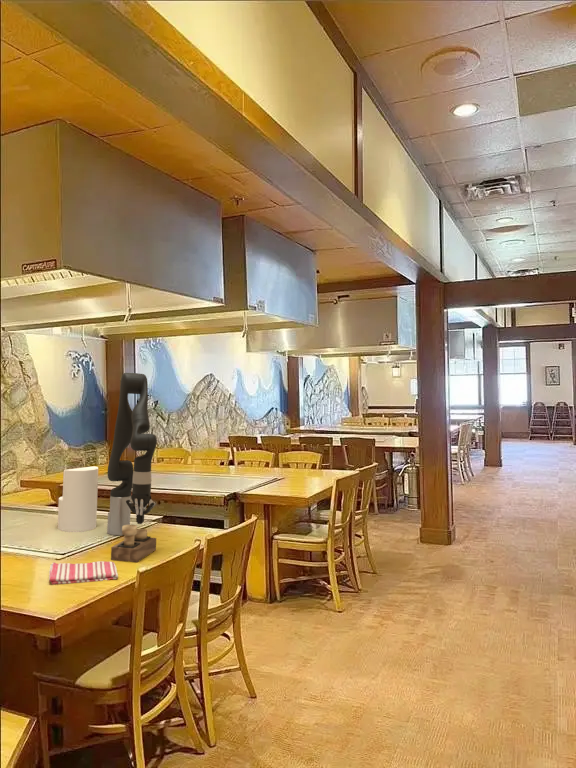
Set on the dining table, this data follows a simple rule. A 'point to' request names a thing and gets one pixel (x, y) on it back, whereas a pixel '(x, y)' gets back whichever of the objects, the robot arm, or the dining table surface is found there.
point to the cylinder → (78, 500)
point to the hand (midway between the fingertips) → (140, 523)
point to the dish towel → (82, 572)
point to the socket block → (133, 550)
